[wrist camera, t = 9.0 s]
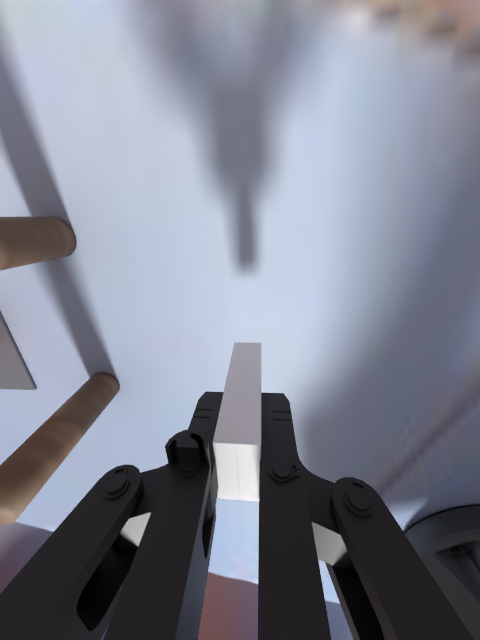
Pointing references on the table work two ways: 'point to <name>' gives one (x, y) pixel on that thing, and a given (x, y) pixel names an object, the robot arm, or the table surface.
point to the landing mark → (12, 363)
